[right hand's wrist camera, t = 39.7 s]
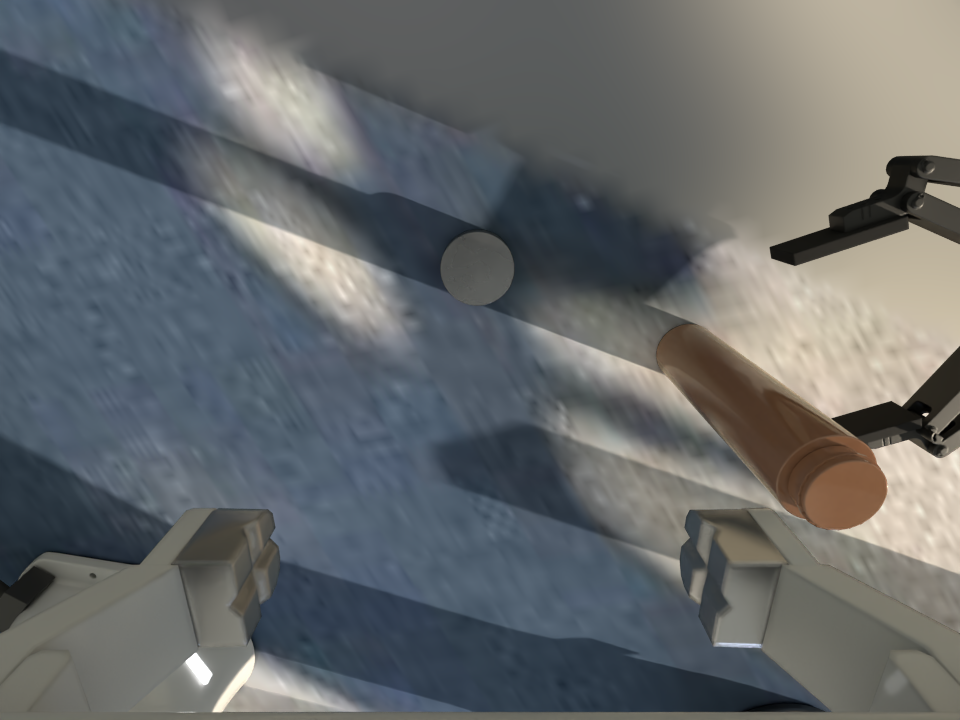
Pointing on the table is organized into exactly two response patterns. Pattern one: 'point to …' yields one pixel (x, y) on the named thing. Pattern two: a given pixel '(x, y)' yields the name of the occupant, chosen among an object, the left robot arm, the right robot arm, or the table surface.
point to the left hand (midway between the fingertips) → (795, 355)
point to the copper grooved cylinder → (775, 431)
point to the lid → (477, 267)
